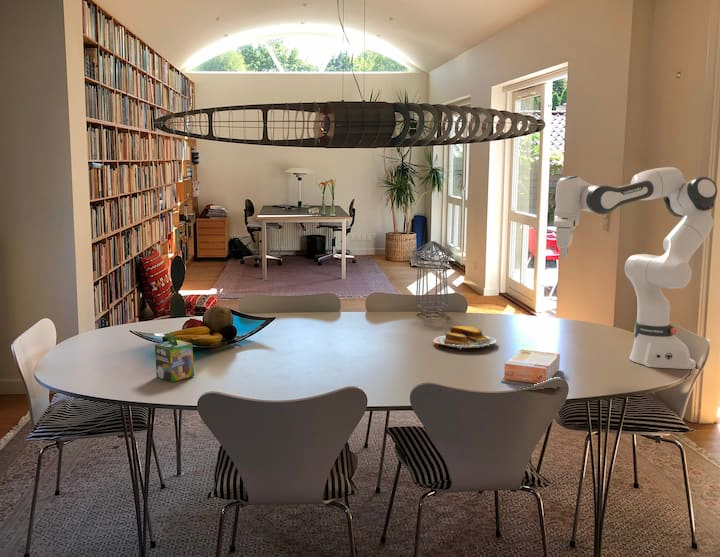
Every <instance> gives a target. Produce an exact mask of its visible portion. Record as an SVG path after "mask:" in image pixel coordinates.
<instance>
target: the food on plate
mask: <svg viewBox="0 0 720 557" xmlns="http://www.w3.org/2000/svg"><path fill="white" fill-rule="evenodd" d="M496 342H498V340H497V338H494V337H492V336H488V335H484V334H483V333H482V330H481V328H478V327H475V326H472V325H464V324H463V325H451V326H450V330H448V331H446V332H445V335H441V336H440V335H439V336H437V337H435V338H433V340H432V343H434V344H436V348H438V347H439V345H442V346H446V347H450V348H457V349H459V350H462V348H463V349H469V348H470V349H473V348H474V349H475V348H478V349H480V348H484V347H489V346H490V345H493V344H495V343H496Z"/></svg>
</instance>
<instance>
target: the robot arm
mask: <svg viewBox="0 0 720 557" xmlns="http://www.w3.org/2000/svg"><path fill="white" fill-rule="evenodd" d="M717 195H718V186H717V184H716V182H715V181H714V180H713V179H712V178H710V177H707V176H700V177H696V178H693V179H691V180H690V181H688V182H687V181H686V180H685V179H684V174H683V172H682V171H681V170H680V169H679V168H677V167H673V166H672V167H671V166H669V167H668V166H665V167H657V168H651V169H645V170H644V171H640V172H639V173H636V174H634V175H633V176H632V178H631V181H630V184H626V185H622V186H619V187H615V186H610V185H594V184H593V185H592V184H591V183H589V182H587V181H585V180H583V179H582V178H581V177H580V176H579V175H567V176H563V177H560V178H559V179H558V181H557V183H556V187H555V194H554V196H555V197H554V201H555V209H554V213H553V226H554V227H555V228H556V229H555V230H556V231H555V232H556V235H555V236H556V237H555V238H556V247H557V248H558V249H560V251H561V259H564V260H565V259H567V258H568V253H569V247H570V246H571V245H572V244H573V242H574V241H573V240H574V231H575V230H576V227H578V226H579V224H580V213H581V212H580V211H585V212H589V213H594V214H595V213H596V214H599V215H607V214H610V213H612V212H613V211H614V210H616V209H617V208H619V207H621V206H622V205H626V204H629V203H633V202H636V201H637V202H638V201H651V200H657V199H661V198H663V201H664V203H665V207H666V209H667V211H668V212H669V214H670V215H671V216H673V217H675V218H681V219H680V221H679V222H678V223H677V224H676V225H675V226H674V227H673V228H672V229H671V230H670V232H668V234H667V235H666V237H664V239H663V242H662V247H663V250H664V251H665V252H664V253H663V254H662V255H655V254H648V253H640V254H633V255H630V256H629V257H628V258H627V259H626V261H625V264H624V268H623V269H624V274H625V276H626V277H627V278H628V280H629V281H630V282H631V285H632V286H633V288H634V291H635V295H636V299H637V306H636V307H637V308H636V309H637V310H636V311H637V313H636V314H637V315H636V321H635V323H634V334H633V335H634V342H633V345H632V349H631V353H630V355H629V360H630V361H632V362H634V363H637V364H641V365H643V366H645V367H648V368H658V369H659V368H661V369H678V370H679V369H680V370H694V369H695V368H696V367H697V365H696V364H697V363H696V361H695V359H693V358H691V357H690V354H691V353H690V350H689V348H688V346H687V345H686V344H685V343H684V342H683V341H682V340H681V339H679V337H677V336H676V335H675V334H677V332H678V331H677V329H676V327H675V326H674V325H673V324H670V318H671V317H670V316H671V306H672V305H671V303H670V301H669V299H668V298H667V297H666V296H665V295H664V293H663V291H662V288H663V289H667V290H677V289H684V288H686V286H688V284H689V283H690V282H691V279H692V273H693V271H692V268H691V266H690V264H689V262H690V259H691V257H692V256H693V255H694V254H695V253H696V251H697V250H698V249H699V247H700V246H701V245H702V244H703V243H704V241H705V240H706V239H707V237H708V236H709V234H710V233H711V231H712V229H713V227H714V223H715V222H714V218H713V216H712V215H711V214H710V212H709V211H710V210H711V209H713V207H714V206H715V201H716V199H717Z"/></svg>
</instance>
